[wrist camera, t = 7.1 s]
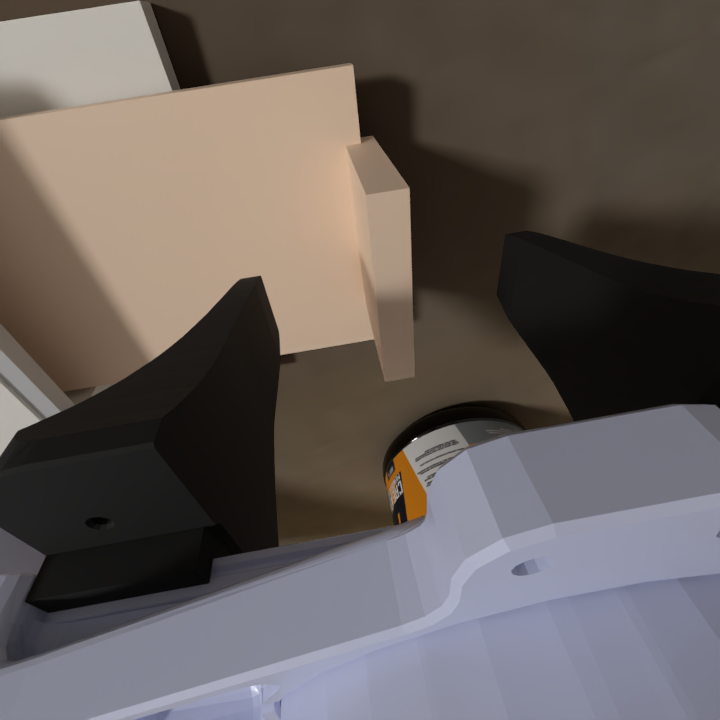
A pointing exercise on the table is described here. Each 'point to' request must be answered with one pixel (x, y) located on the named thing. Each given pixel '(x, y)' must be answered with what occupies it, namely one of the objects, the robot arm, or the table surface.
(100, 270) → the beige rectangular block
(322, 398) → the table surface
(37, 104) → the ticket dispenser
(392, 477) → the supplement container
